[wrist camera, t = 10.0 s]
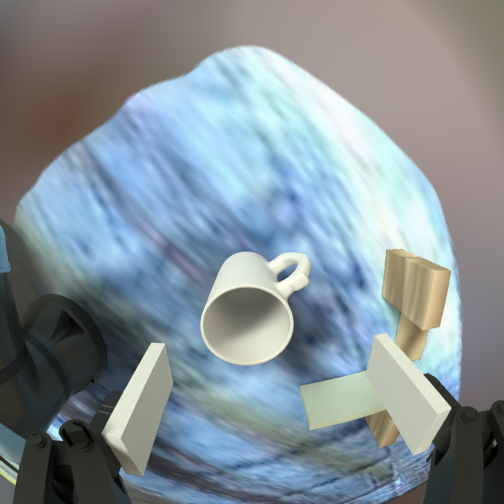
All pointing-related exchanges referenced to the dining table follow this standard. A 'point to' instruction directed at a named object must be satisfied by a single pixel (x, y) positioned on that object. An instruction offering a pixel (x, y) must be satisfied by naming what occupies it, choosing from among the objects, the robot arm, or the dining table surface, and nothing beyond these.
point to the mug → (252, 307)
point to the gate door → (339, 400)
